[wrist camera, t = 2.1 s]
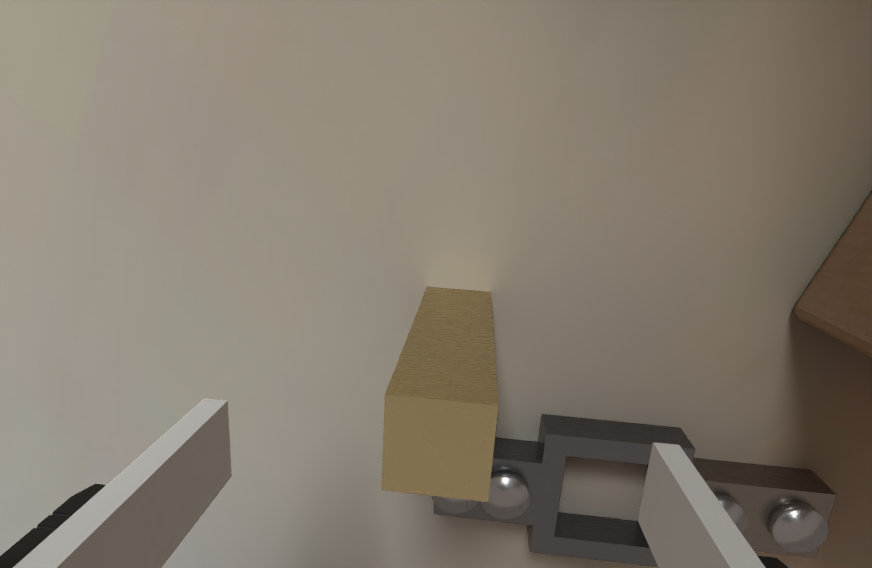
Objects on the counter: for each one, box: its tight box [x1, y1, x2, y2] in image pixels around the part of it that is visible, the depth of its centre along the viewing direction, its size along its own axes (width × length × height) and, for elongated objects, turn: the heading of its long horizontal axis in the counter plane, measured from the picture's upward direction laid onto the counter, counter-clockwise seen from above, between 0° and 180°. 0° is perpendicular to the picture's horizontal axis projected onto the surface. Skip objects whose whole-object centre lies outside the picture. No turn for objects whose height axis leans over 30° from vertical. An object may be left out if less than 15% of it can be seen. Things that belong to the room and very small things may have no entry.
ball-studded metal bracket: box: [432, 414, 837, 567], centre depth 27 cm, size 8×21×3 cm, turn 87°
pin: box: [382, 287, 498, 502], centre depth 21 cm, size 3×3×12 cm
